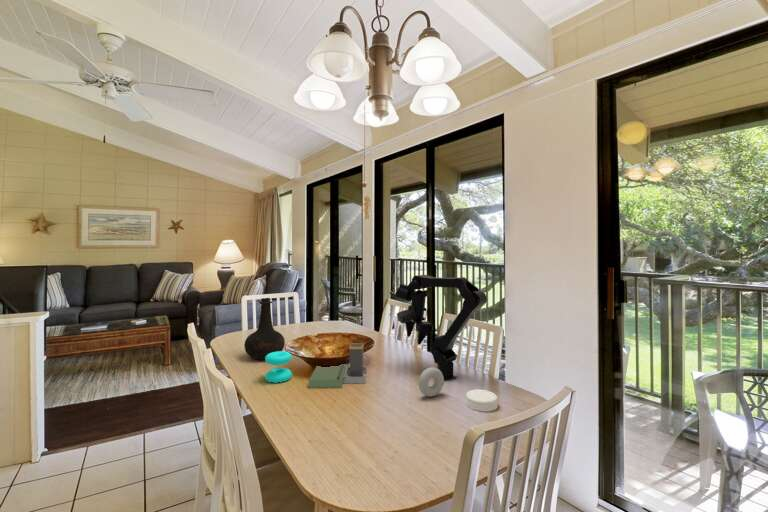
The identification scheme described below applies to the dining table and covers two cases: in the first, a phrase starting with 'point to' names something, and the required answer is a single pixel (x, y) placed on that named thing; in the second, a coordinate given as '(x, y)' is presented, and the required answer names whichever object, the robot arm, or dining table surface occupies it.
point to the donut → (425, 379)
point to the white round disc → (481, 400)
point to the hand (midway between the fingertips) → (413, 340)
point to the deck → (334, 377)
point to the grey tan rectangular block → (356, 359)
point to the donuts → (278, 373)
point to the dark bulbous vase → (264, 335)
